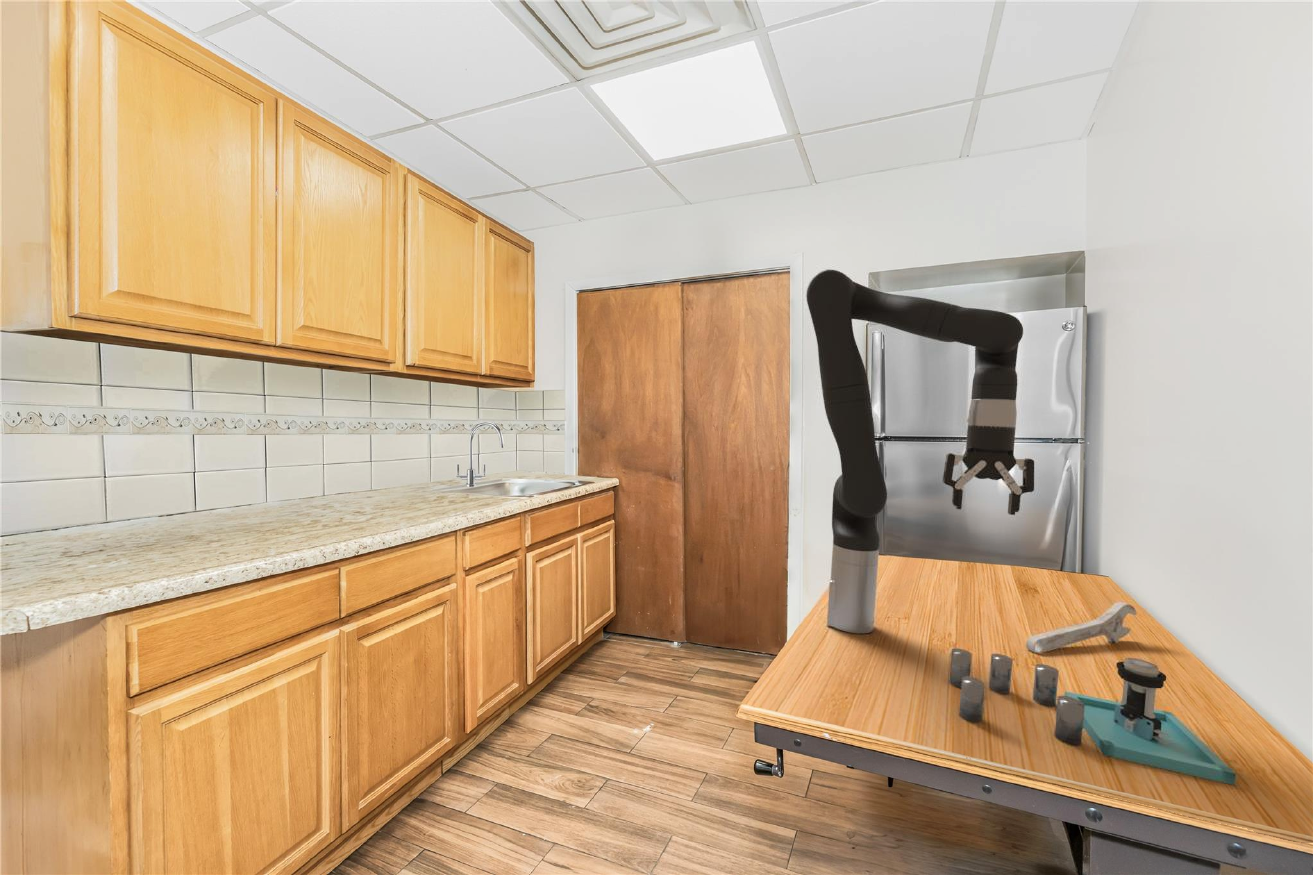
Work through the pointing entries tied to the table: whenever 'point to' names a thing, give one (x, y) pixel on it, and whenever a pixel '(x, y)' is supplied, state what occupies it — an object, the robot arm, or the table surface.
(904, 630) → the table surface
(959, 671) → the standoff cluster
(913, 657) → the table surface
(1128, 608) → the wrench
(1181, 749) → the tray
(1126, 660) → the push button
